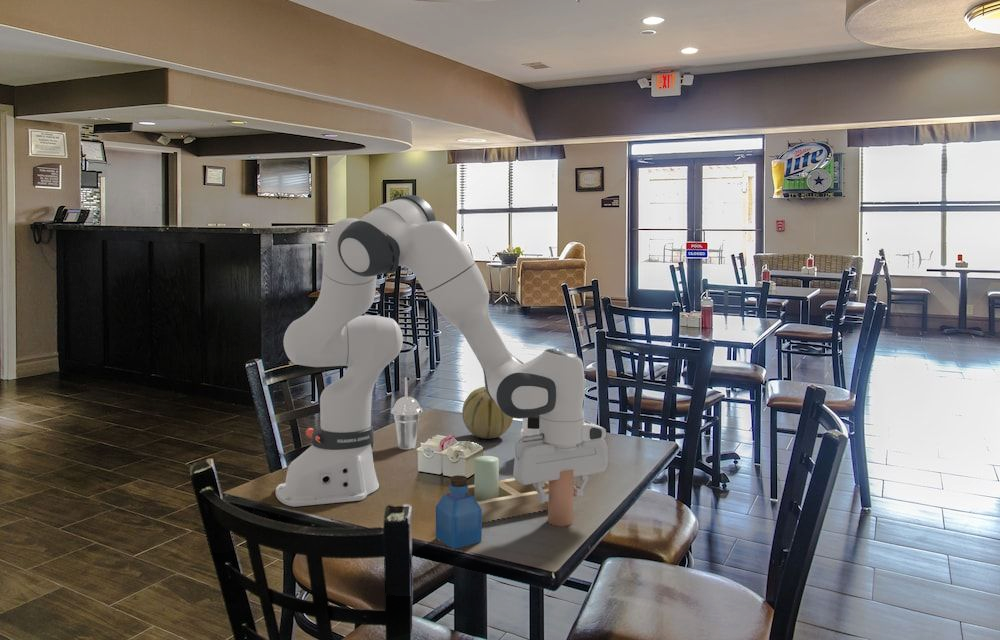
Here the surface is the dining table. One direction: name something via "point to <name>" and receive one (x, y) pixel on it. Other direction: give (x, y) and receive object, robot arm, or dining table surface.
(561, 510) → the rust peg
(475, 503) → the perfume bottle
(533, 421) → the medicine bottle
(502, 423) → the cantaloupe
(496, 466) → the green peg
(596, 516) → the dining table surface
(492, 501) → the wooden tray
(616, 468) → the dining table surface
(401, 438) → the cup with straw
